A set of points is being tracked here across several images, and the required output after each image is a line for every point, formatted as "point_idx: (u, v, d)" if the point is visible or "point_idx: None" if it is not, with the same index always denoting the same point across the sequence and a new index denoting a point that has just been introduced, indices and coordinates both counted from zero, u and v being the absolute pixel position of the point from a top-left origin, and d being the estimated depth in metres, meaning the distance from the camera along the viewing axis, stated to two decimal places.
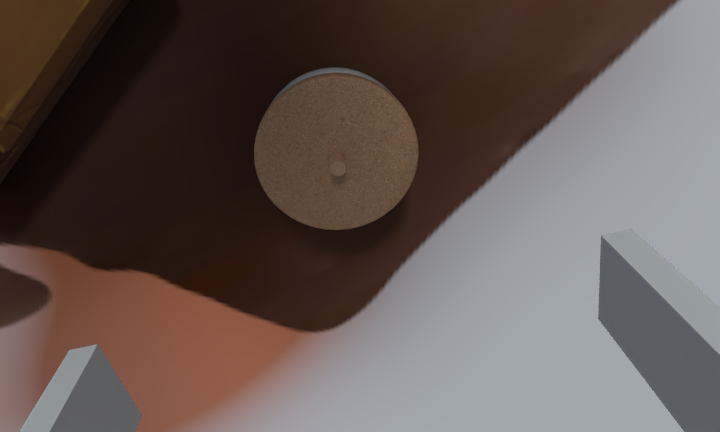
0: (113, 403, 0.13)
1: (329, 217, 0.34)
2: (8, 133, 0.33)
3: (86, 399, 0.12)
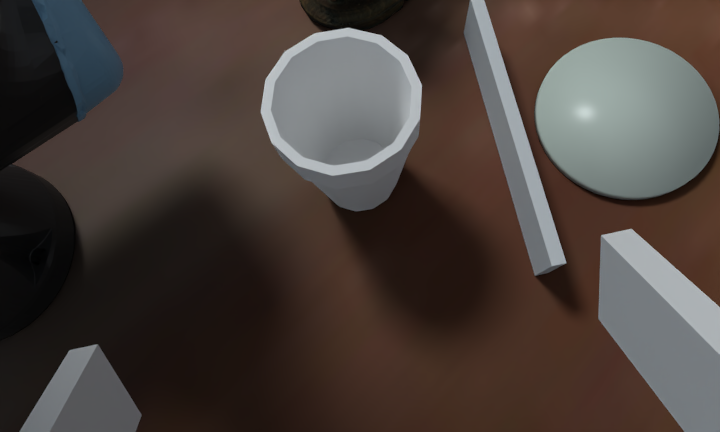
0: (113, 403, 0.13)
1: None
2: None
3: (86, 398, 0.12)
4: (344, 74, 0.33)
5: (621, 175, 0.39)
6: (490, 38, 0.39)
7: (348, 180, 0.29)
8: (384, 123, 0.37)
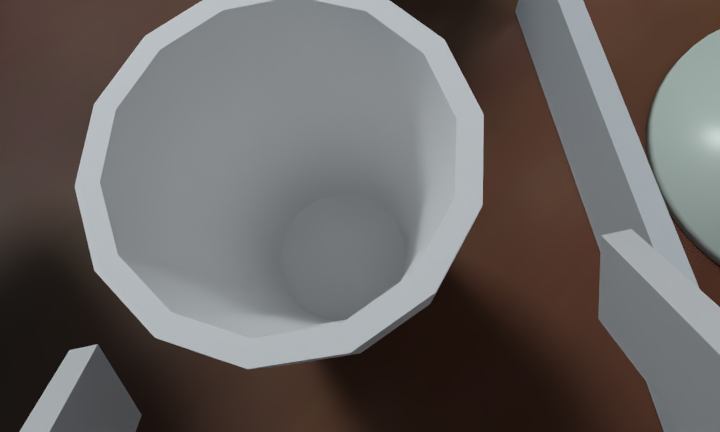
0: (113, 403, 0.13)
1: None
2: None
3: (86, 398, 0.12)
4: (301, 87, 0.16)
5: None
6: (578, 14, 0.21)
7: (296, 362, 0.11)
8: (386, 176, 0.20)
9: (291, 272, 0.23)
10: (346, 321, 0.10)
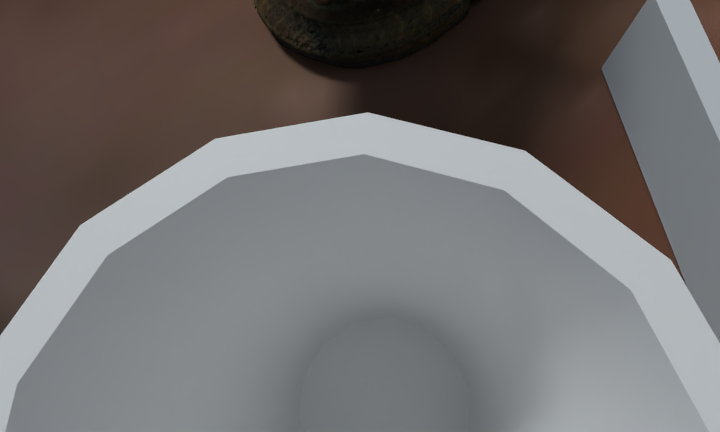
0: None
1: None
2: None
3: None
4: (351, 245, 0.10)
5: None
6: (718, 92, 0.15)
7: None
8: (457, 328, 0.14)
9: (316, 427, 0.17)
10: None
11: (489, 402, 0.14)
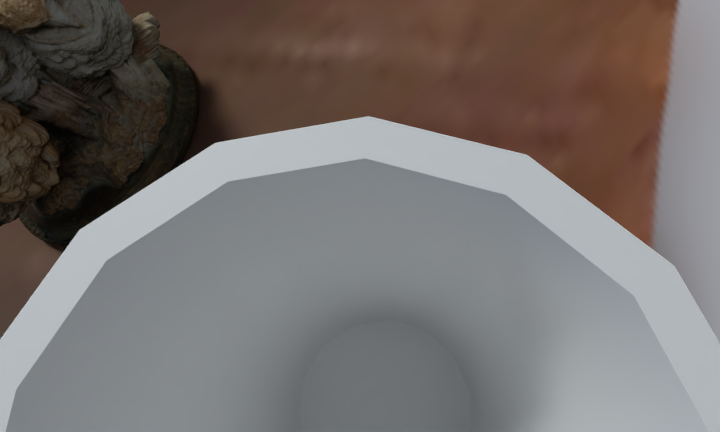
0: None
1: None
2: None
3: None
4: (351, 248, 0.10)
5: None
6: None
7: None
8: (458, 330, 0.14)
9: (316, 430, 0.17)
10: None
11: (490, 405, 0.14)
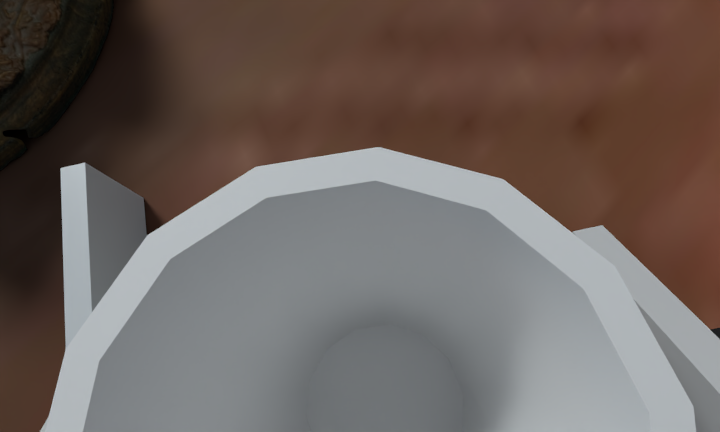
0: None
1: None
2: None
3: None
4: (359, 254, 0.12)
5: None
6: (78, 262, 0.18)
7: None
8: (451, 331, 0.15)
9: (321, 425, 0.19)
10: None
11: (480, 400, 0.16)
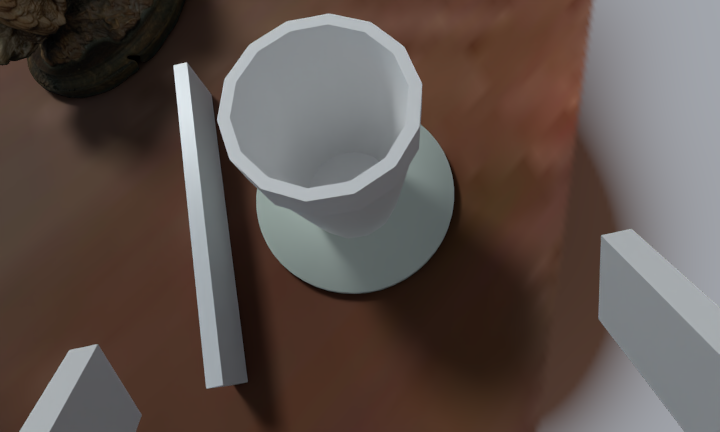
0: (113, 403, 0.13)
1: None
2: None
3: (86, 398, 0.12)
4: (328, 74, 0.27)
5: (337, 267, 0.34)
6: (186, 112, 0.34)
7: (328, 207, 0.22)
8: (380, 133, 0.31)
9: None
10: (352, 180, 0.21)
11: None
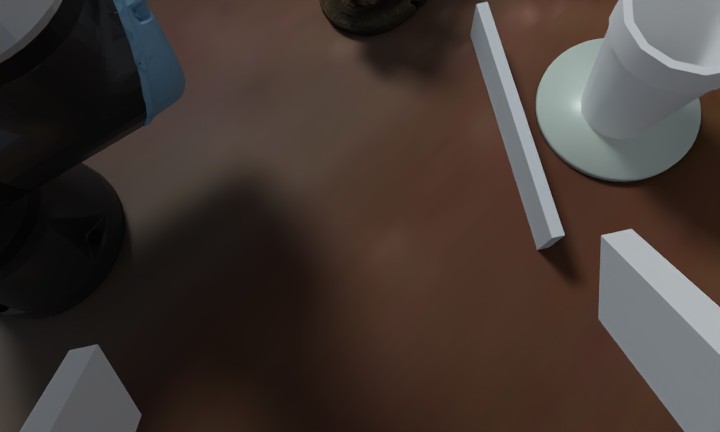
0: (113, 403, 0.13)
1: None
2: None
3: (86, 398, 0.12)
4: (659, 0, 0.37)
5: (613, 160, 0.43)
6: (494, 39, 0.43)
7: (706, 83, 0.32)
8: (665, 52, 0.41)
9: None
10: None
11: None
